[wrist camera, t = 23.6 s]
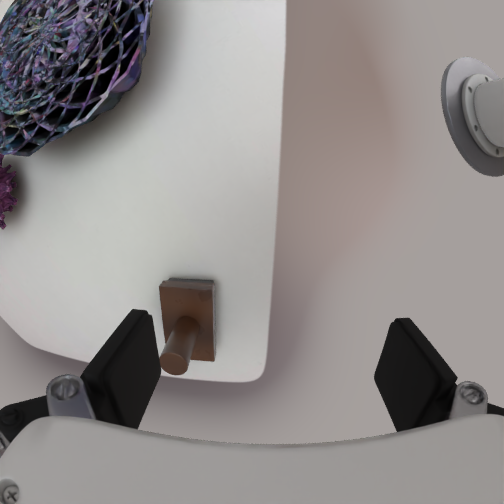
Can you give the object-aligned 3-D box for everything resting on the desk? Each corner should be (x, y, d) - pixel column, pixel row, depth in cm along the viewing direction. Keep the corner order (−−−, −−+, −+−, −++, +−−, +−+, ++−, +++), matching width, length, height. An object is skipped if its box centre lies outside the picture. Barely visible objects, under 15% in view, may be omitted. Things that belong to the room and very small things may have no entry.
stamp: (167, 275, 30) (135, 317, 21) (216, 277, 30) (201, 323, 21) (173, 342, 33) (151, 395, 24) (217, 346, 33) (207, 402, 24)
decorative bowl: (17, 167, 28) (-32, 180, 19) (31, 8, 18) (-7, -7, 9) (178, 133, 28) (145, 128, 18) (184, -49, 18) (167, -91, 9)
